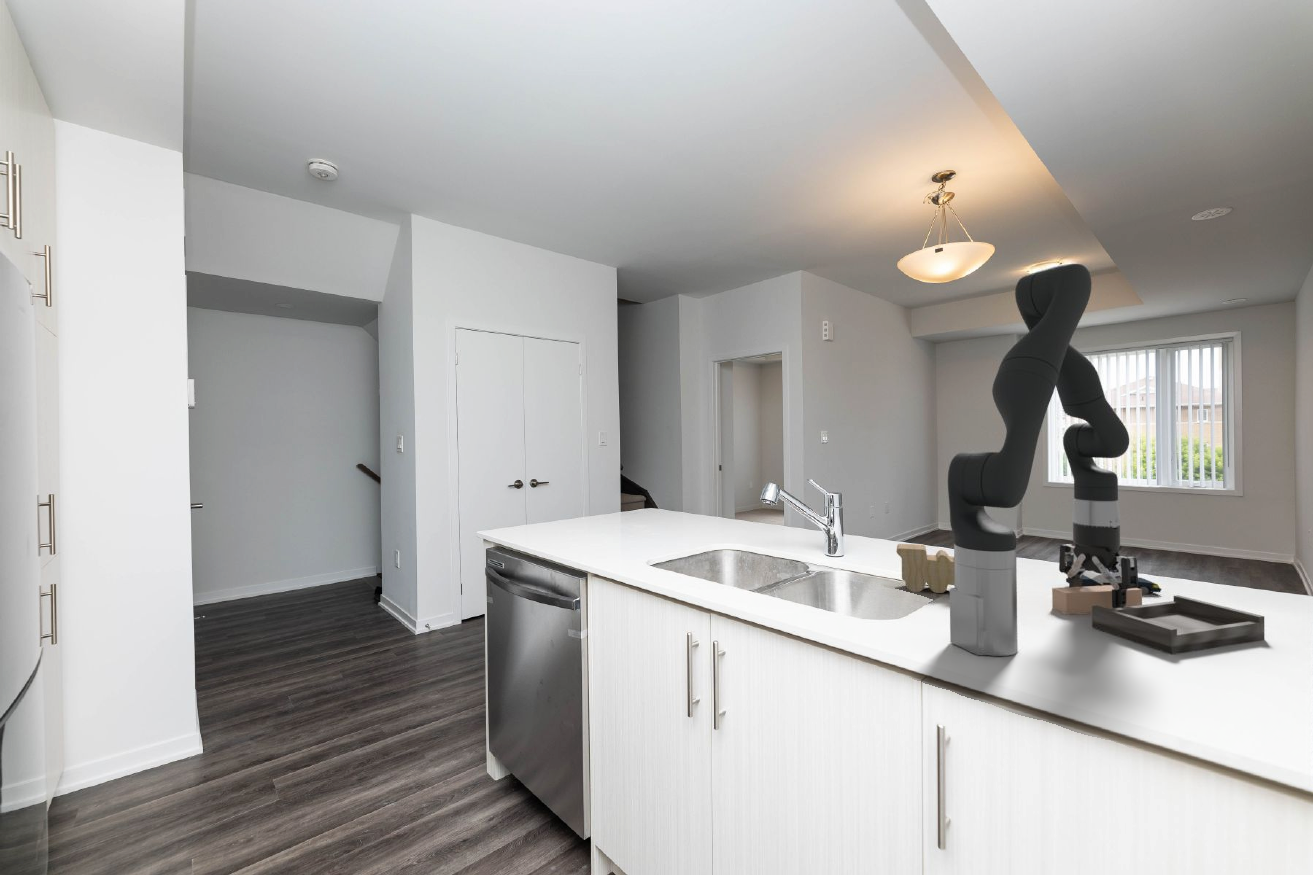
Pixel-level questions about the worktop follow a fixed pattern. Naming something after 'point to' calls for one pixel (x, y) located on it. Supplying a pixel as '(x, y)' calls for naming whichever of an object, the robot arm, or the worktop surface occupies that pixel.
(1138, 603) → the tan rectangular block
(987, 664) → the worktop surface
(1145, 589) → the toy car
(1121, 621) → the charcoal tray
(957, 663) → the worktop surface
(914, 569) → the toy train
